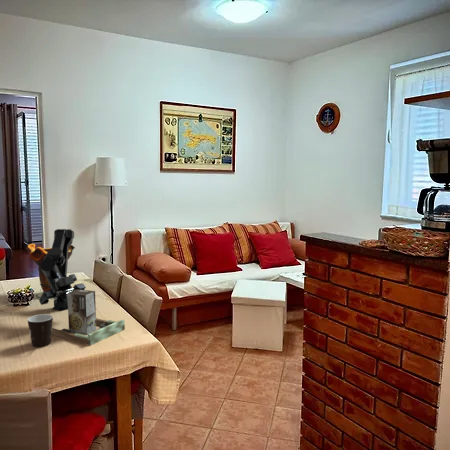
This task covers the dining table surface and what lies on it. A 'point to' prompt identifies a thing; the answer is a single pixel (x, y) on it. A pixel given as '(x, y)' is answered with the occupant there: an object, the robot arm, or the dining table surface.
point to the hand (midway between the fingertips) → (71, 310)
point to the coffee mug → (40, 329)
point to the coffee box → (82, 311)
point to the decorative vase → (38, 257)
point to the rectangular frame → (104, 332)
